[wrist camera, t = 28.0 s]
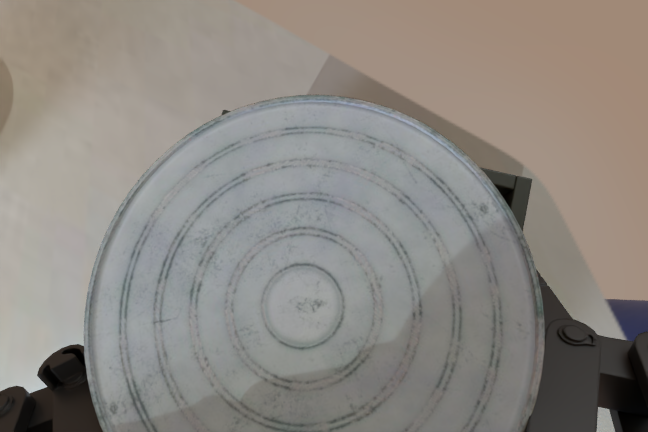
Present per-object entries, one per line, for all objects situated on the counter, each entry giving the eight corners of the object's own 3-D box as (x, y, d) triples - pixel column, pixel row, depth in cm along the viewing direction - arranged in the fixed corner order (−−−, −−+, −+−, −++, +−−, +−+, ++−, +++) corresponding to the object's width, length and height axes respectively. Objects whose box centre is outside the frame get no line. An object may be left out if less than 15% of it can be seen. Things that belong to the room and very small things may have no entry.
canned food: (340, 162, 22) (324, 18, 10) (478, 307, 20) (656, 332, 8) (196, 286, 21) (4, 283, 10) (322, 452, 19) (270, 710, 7)
